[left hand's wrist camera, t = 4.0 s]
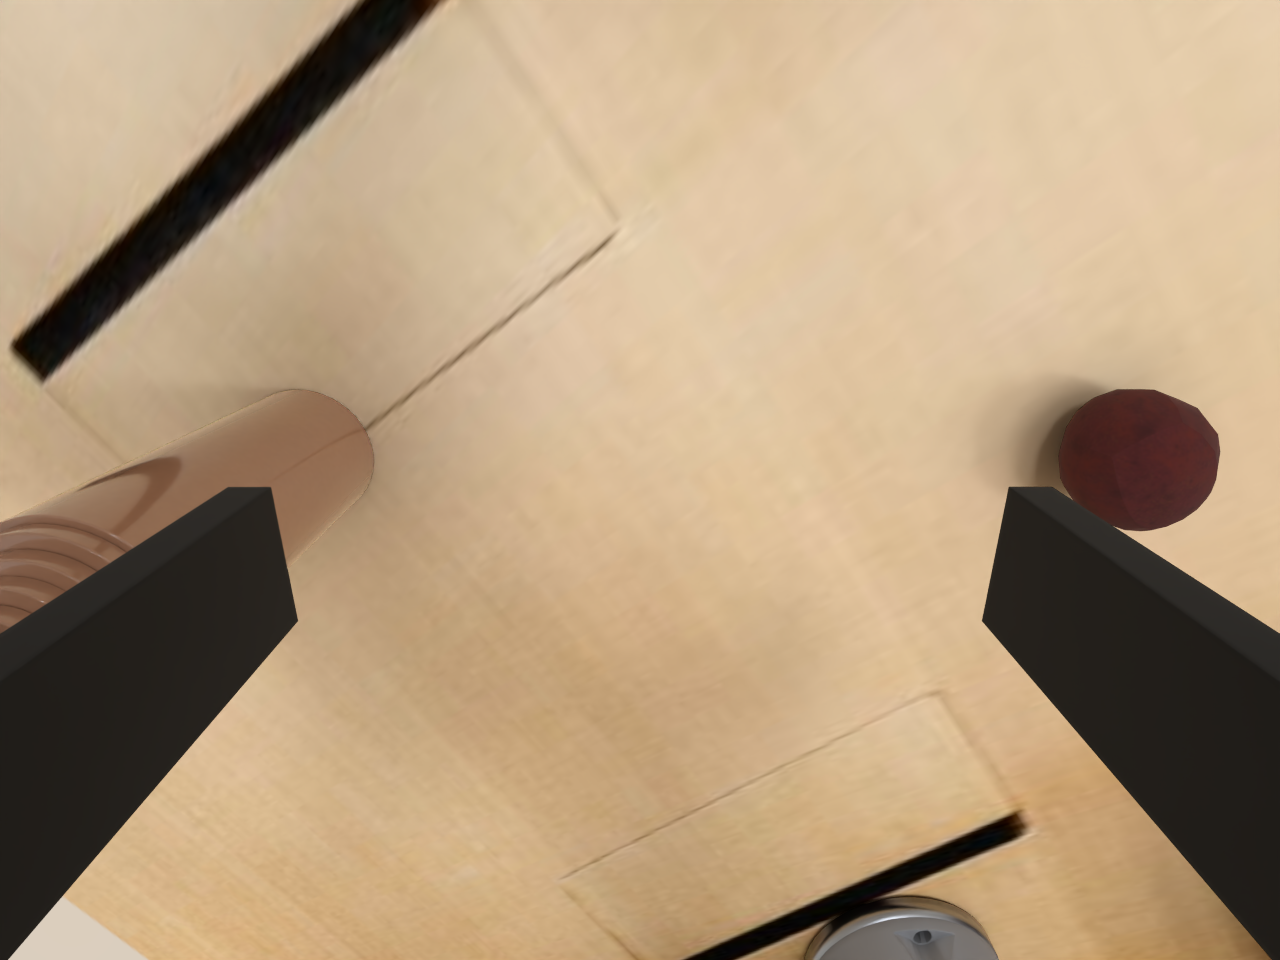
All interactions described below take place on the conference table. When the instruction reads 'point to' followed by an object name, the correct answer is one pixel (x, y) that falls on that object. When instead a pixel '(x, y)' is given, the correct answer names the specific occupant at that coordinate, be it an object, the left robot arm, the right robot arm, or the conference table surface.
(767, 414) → the conference table surface
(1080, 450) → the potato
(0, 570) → the bottle
